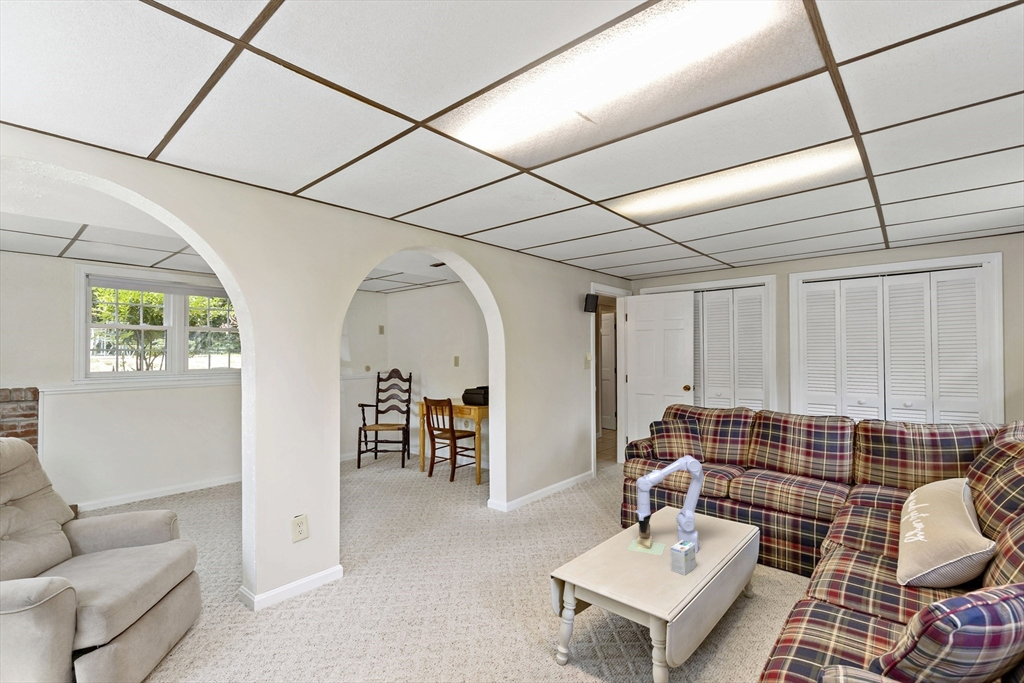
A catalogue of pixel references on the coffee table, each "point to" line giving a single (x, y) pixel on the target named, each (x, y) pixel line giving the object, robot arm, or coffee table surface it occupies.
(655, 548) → the plate
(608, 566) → the coffee table surface
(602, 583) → the coffee table surface
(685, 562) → the light bulb box
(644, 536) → the walnut brick
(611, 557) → the coffee table surface
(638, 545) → the maple base brick
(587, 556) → the coffee table surface
